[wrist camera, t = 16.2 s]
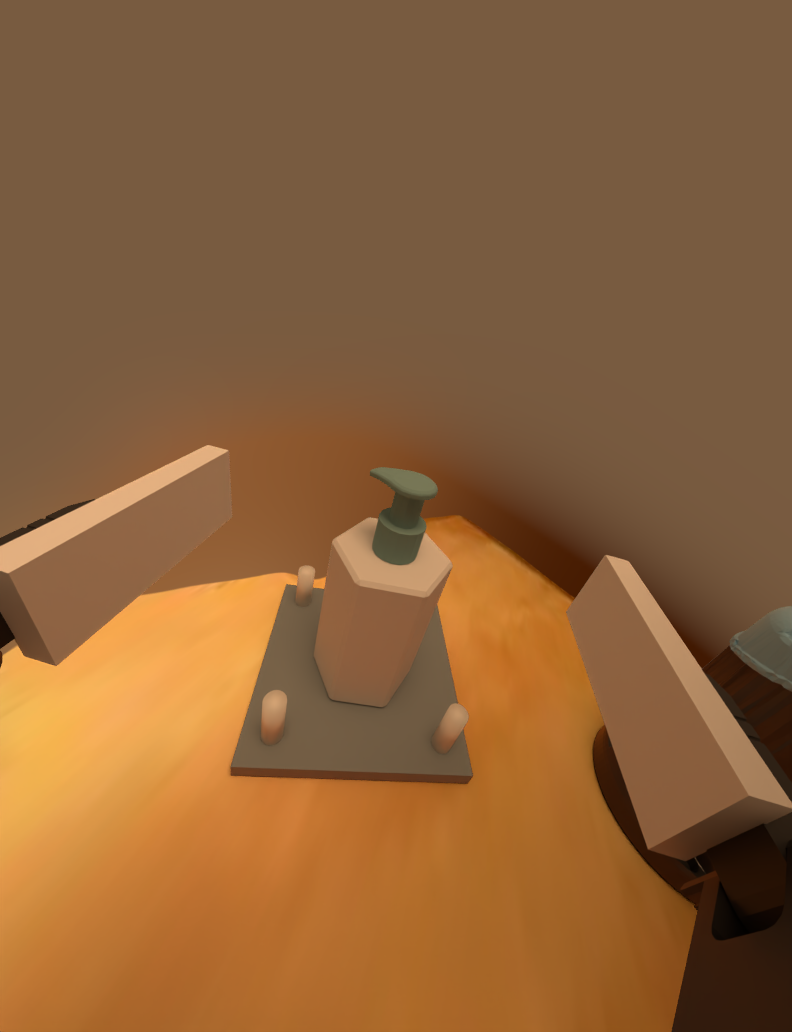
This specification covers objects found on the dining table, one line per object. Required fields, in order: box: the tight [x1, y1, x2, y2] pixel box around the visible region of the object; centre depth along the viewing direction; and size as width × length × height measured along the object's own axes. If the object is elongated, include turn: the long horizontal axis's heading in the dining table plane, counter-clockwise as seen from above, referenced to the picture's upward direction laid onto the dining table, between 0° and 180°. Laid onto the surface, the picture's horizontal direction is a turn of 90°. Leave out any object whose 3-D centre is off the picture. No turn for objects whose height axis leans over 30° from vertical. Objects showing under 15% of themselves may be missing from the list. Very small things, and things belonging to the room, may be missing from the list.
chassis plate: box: [231, 565, 473, 783], centre depth 35 cm, size 20×20×6 cm
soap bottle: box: [314, 467, 452, 707], centre depth 31 cm, size 10×9×22 cm
